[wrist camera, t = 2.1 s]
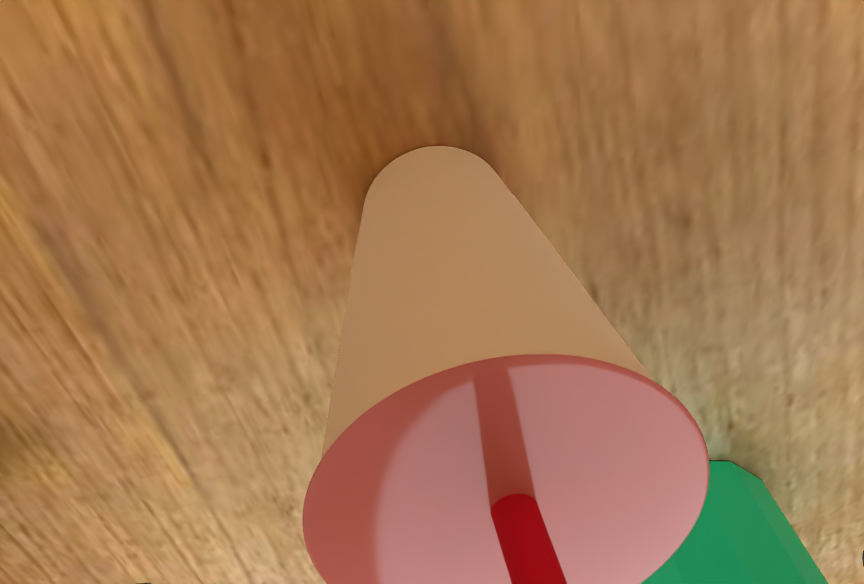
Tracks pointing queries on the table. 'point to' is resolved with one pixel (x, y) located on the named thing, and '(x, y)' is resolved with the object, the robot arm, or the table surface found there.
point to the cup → (488, 405)
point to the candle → (739, 538)
